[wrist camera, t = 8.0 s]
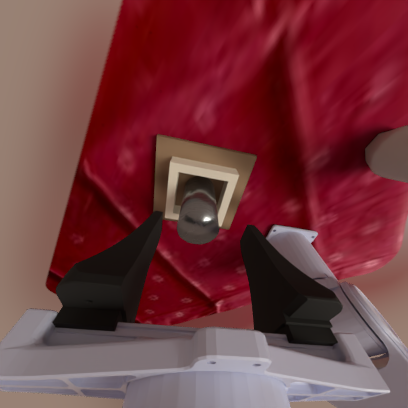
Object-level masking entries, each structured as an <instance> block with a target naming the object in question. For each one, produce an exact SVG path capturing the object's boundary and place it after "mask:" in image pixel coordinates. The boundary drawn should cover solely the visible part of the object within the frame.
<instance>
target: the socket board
mask: <svg viewBox="0 0 408 408" xmlns="http://www.w3.org/2000/svg"><path fill="white" fill-rule="evenodd" d="M256 158H257V156H256V155H254V154H249V153H245V152H240V151H235V150H230V149H226V148H221V147H216V146H212V145H207V144H202V143H198V142H193V141H188V140H184V139H179V138H174V137H169V136H165V135H160V134H158V135H157V142H156V165H155V187H154V209H153V212H154V211H161V212H163V219H164V220H170V221H177V222H178V219H179V214H180V209H181V204H182V199H183V194H184V189H185V185H186V183H187V181H188V180H189V179H190V178H192V177H194V176H202V177H207V178H208V179H210V180H211V181H212V183H213V185H214V190H215V199H216V207H217V215H218V223H219V228H222V229H229V228H230V225H231V223H232V220H233V218H234V215H235V212H236V210H237V207H238V205H239V202H240V200H241V197H242V194H243V192H244V189H245V187H246V184H247V181H248V179H249V176H250V174H251V171H252V169H253V166H254V163H255V161H256Z"/></svg>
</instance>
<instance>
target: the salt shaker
mask: <svg viewBox="0 0 408 408" xmlns="http://www.w3.org/2000/svg"><path fill="white" fill-rule="evenodd" d="M365 161H366V163H367V164H368V166H369V167H370V169H371V171H372V172H373V173H375V174H377V175H379V176H381V177H384V178H388V179H393V180H397V181H402V182H406V183H408V125H406V126H403V127H400V128H397V129H393V130H390V131H387V132H383V133H380V134H378V135H377V136H376V137H375V138H374V139H373V140H372V142H371V143H370V144H369V145H368V146H367V147H366V148H365Z"/></svg>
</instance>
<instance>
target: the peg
mask: <svg viewBox="0 0 408 408" xmlns="http://www.w3.org/2000/svg"><path fill="white" fill-rule="evenodd" d="M177 232H178V234H179V236H180V237H181V238H182V239H183V240H185V241H187V242H189V243H193V244H204V243H208V242H210V241H212V240H213V239H214V238H215V237H216V236H217V235H218V232H219V223H218V215H217V207H216V199H215V190H214V185H213V183H212V181H211V180H210V179H208V178H207V177H202V176H194V177H192V178H190V179H189V180H188V181H187V183H186V185H185V189H184V194H183V199H182V204H181V209H180V214H179V219H178V224H177Z"/></svg>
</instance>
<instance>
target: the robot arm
mask: <svg viewBox="0 0 408 408" xmlns="http://www.w3.org/2000/svg"><path fill="white" fill-rule="evenodd" d="M162 219H163V212H161V211H154V212H153V213H152V214H151V215H150V217H149V218H148V219H147V220H146V221H145V222H144V223H143V224H141V225H140V226H139V227H138V228H137V229H136V230H135V231H133V232H132V233H131V234H130V235H128V236H127V237H126V238H124V239H123V240H121V241H120V242H118V243H117V244H115V245H113V246H112V247H110V248H108V249H106V250H105V251H103V252H101V253H99V254H97V255H95V256H93V257H90V258H88V259H86V260H83V261H81V262H79V263H76V264H75V265H74V266H73V267H72V268H71V269H70V270H69V271H68V273H67V274H66V275H65V276H64V278H63V279H62V280H61V282H60V283H59V284H58V286H57V287H56V293H57V296H58V297H59V299H60V301H61V303H62V305H63V307H62V308H61V310H60V312H59V313H58V312H56V311H53V310H45V309H32V308H30V309H27V311H26V312H25V313H24V314H23V315H22V317H21V318H20V319H19V320H18V322H17V323H16V324H15V325H14V326H13V328H12V329H11V330H10V331H9V333H8V334H7V335H6V336H5V338H4V339H3V340H2V341H1V342H0V391H4V392H6V391H7V392H30V393H49V394H62V395H74V396H86V397H98V398H111V399H123V400H124V403H123V406H122V408H291V407H290V403H289V402H297V401H328V402H329V403H331V404H332V405H334V406H336V407H337V408H408V349H407V348H406V346H405V345H404V344H403V343H402V341H401V340H400V338H399V337H398V335H397V334H396V332H395V331H394V330H393V329H392V327H391V326H390V325H389V324H388V322H387V321H386V320H385V318H384V317H383V316H382V315H381V314H380V312H379V311H378V310H377V309H376V308H375V307H374V305H373V304H372V303H371V302H370V301H369V300H368V299H367V297H366V296H365V295H364V294H363V293H362V292H361V291H360V290H359V289H358V288H357V287H356V286H355V285H353V284H350V283H347V282H342V283H340V282H339V281H338V280H337V279H336V277H335V276H334V275H333V273H332V272H331V271H330V269H329V268H328V267H327V265H326V264H325V262H324V261H323V260H322V258H321V257H320V256H319V254H318V253H317V252H316V250H315V249H314V247H313V246H312V245H311V242H312V241H313V240H314V239H315V237H316V236H317V235H318V233H317V232H316V231H310V230H304V229H298V228H292V227H286V226H280V225H274V226H272V228H271V230H270V232H269V233H268V235H267V237H266V238H265V237H264V236H263V235H262V233H261V232H260V231H259V230H258V229H257V228H256V227H255V226H254V225H247V227H246V229H245V231H244V234H243V236H242V238H241V240H240V245H241V253H242V257H243V261H244V265H245V268H246V272H247V276H248V281H249V287H250V293H251V301H252V310H253V320H254V330H251V329H238V328H225V327H205V328H191V327H177V326H164V325H150V324H137V323H134V322H135V318H136V314H137V310H138V306H139V302H140V298H141V294H142V290H143V287H144V283H145V279H146V276H147V272H148V269H149V266H150V263H151V261H152V258H153V255H154V253H155V250H156V248H157V245H158V242H159V239H160V235H161V231H162ZM384 353H386V354H384ZM379 354H384V355H382V356H380V357H376V358H371V359H370V358H369V357H371V356H375V355H379Z"/></svg>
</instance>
